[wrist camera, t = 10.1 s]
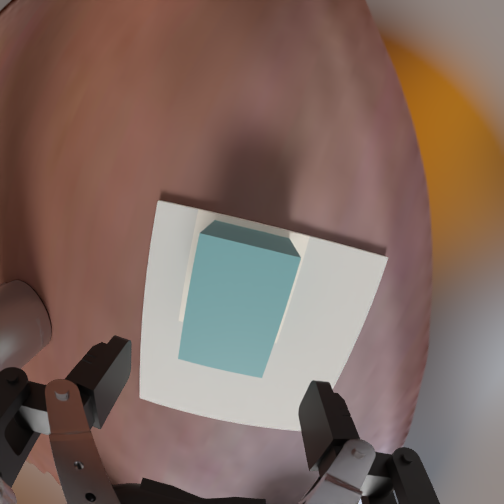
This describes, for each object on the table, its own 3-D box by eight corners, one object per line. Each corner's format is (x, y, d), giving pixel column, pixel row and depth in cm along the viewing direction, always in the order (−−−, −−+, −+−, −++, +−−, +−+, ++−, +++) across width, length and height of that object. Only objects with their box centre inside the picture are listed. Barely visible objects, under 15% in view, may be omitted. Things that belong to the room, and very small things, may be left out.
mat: (141, 394, 27) (139, 398, 26) (160, 200, 22) (157, 200, 21) (307, 428, 28) (308, 432, 27) (385, 256, 23) (388, 258, 22)
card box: (214, 220, 22) (199, 233, 16) (289, 238, 22) (301, 257, 16) (194, 320, 24) (177, 358, 18) (260, 335, 24) (261, 378, 18)
